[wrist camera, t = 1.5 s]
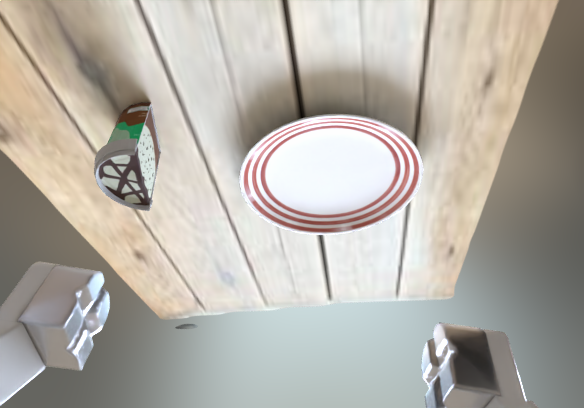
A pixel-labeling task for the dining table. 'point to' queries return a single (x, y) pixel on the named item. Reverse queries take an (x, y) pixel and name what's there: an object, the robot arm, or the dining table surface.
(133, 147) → the food container
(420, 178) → the dinner plate
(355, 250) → the dining table surface
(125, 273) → the dining table surface
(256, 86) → the dining table surface
